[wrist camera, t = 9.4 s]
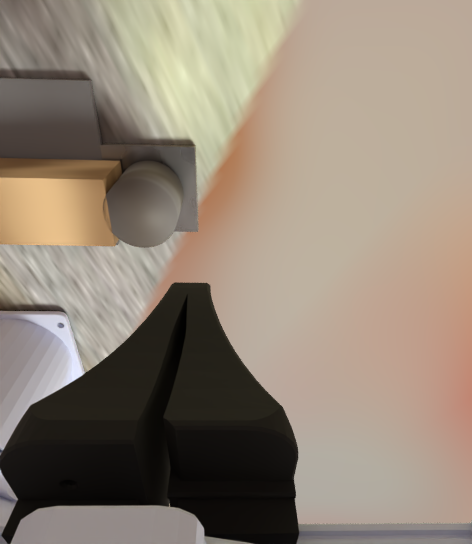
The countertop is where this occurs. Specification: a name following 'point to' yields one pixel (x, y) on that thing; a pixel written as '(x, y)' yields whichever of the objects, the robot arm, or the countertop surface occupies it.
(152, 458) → the robot arm
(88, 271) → the countertop surface
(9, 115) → the seat mat
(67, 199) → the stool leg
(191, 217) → the hinge bracket
